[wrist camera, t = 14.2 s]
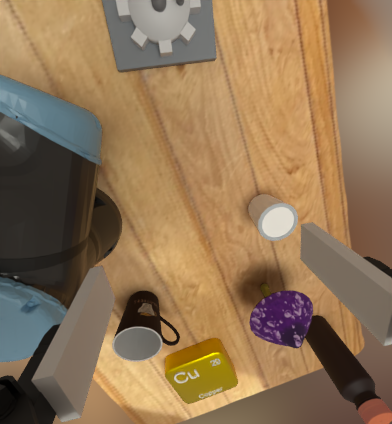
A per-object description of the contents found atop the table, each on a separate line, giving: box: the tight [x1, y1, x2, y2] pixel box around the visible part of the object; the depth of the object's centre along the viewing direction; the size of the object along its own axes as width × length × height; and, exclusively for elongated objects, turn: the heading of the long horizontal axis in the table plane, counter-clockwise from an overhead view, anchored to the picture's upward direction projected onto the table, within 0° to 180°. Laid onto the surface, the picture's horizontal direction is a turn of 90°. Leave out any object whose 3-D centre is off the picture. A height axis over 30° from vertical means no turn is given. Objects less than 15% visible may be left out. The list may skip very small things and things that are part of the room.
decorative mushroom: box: [249, 284, 313, 348], centre depth 44 cm, size 12×12×15 cm
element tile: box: [165, 338, 238, 404], centre depth 57 cm, size 15×15×5 cm
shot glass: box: [248, 194, 298, 241], centre depth 40 cm, size 7×7×7 cm
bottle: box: [305, 316, 392, 424], centre depth 48 cm, size 7×7×20 cm
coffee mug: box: [112, 291, 180, 362], centre depth 45 cm, size 12×9×10 cm
